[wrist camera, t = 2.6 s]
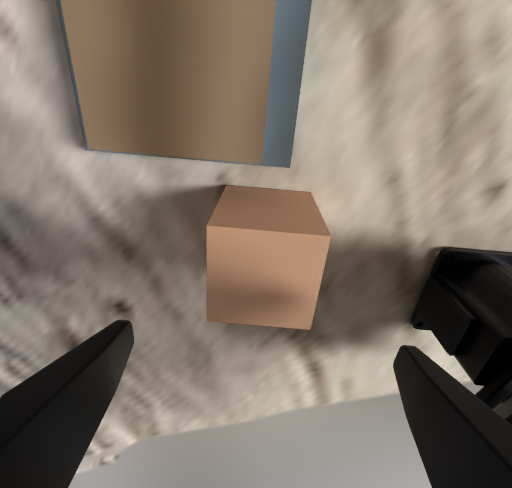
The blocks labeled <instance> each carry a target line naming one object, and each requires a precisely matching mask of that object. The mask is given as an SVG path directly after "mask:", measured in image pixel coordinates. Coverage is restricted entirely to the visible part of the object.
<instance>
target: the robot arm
mask: <svg viewBox="0 0 512 488" xmlns="http://www.w3.org/2000/svg"><path fill="white" fill-rule="evenodd" d="M450 254H451V255H450ZM448 255H450V257H448V258H446V257H447V256H448ZM410 322H411V324H412V326H413V327H414V328H415V329H420V330H431V331H432V332H433V334H434V335H435V337H436V338H437V339H438V341H439V342H440V344H441V345H442V346H443V348H444V349H445V351H446V352H447V353H448V354H449V355H451V356H455V358H456V359H457V360H458V362H459V363H460V365H461V366H462V367H463V369H464V370H465V372H466V373H467V374H468V376H469V377H470V378H471V380H472V381H473V383H474V384H475V385H481V386H484V387H482V388H481V389H480V390H479V391H478V392H477V393H476V394H475V395H474V394H473V393H472V392H470V391H469V390H468V389H467V388H466V387H464V386H463V385H462V384H461V383H459V382H458V381H457V380H456V379H455V378H453V377H452V376H451V375H450V374H448V373H447V372H446V371H445V370H444V369H442V368H441V367H440V366H439V365H438V364H436V363H435V362H434V361H433V360H431V359H430V358H429V357H428V356H427V355H425V354H424V353H423V352H422V351H420V350H419V349H418V348H417V347H415V346H408V345H402V346H401V347H400V349H399V351H398V353H397V356H396V358H395V360H394V364H393V367H394V372H395V376H396V380H397V384H398V388H399V392H400V396H401V399H402V403H403V407H404V411H405V414H406V418H407V420H408V423H409V426H410V429H411V432H412V434H413V437H414V440H415V442H416V445H417V448H418V451H419V454H420V456H421V459H422V462H423V464H424V467H425V470H426V473H427V475H428V478H429V481H430V483H431V486H432V488H512V253H504V252H493V251H481V250H469V249H458V248H445V249H443V250H442V251H441V252H440V253H439V255H438V257H437V260H436V262H435V264H434V267H433V269H432V271H431V274H430V276H429V278H428V280H427V281H426V284H425V286H424V288H423V291H422V293H421V295H420V298H419V300H418V302H417V305H416V308H415V311H414V313H413V315H412V318H411V321H410ZM418 322H419V323H418ZM133 344H134V335H133V329H132V324H131V322H130V321H128V320H117V321H115V322H113V323H112V324H110V325H109V326H107V327H106V328H104V329H103V330H101V331H100V332H98V333H97V334H95V335H93V336H92V337H90V338H89V339H87V340H86V341H84V342H83V343H81V344H80V345H78V346H77V347H75V348H74V349H72V350H71V351H69V352H67V353H66V354H64V355H63V356H61V357H60V358H58V359H57V360H55V361H54V362H52V363H51V364H49V365H48V366H46V367H45V368H43V369H42V370H40V371H38V372H37V373H35V374H34V375H32V376H31V377H29V378H28V379H26V380H25V381H23V382H22V383H20V384H19V385H17V386H16V387H14V388H12V389H11V390H9V391H8V392H6V393H5V394H3V395H2V396H1V398H0V488H68V486H69V485H70V483H71V481H72V479H73V477H74V475H75V473H76V471H77V469H78V467H79V465H80V463H81V461H82V459H83V457H84V455H85V453H86V451H87V449H88V447H89V445H90V443H91V441H92V439H93V437H94V435H95V433H96V431H97V429H98V427H99V425H100V423H101V421H102V419H103V417H104V414H105V412H106V410H107V408H108V406H109V404H110V402H111V400H112V398H113V396H114V394H115V392H116V390H117V387H118V385H119V382H120V380H121V377H122V374H123V372H124V369H125V366H126V363H127V361H128V358H129V355H130V353H131V350H132V347H133Z"/></svg>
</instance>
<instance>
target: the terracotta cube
mask: <svg viewBox="0 0 512 488" xmlns="http://www.w3.org/2000/svg"><path fill="white" fill-rule="evenodd" d="M330 239H331V235H330V233H329V231H328V228H327V226H326V224H325V222H324V220H323V218H322V215H321V213H320V211H319V209H318V207H317V205H316V203H315V200H314V198H313V196H312V194H311V192H299V191H288V190H276V189H265V188H253V187H242V186H230V185H226V187H225V189H224V191H223V193H222V195H221V197H220V199H219V201H218V203H217V205H216V207H215V209H214V211H213V213H212V215H211V217H210V220H209V222H208V224H207V321H214V322H225V323H237V324H249V325H260V326H272V327H284V328H295V329H307V330H311V325H312V321H313V316H314V312H315V307H316V303H317V298H318V294H319V289H320V285H321V280H322V276H323V271H324V267H325V262H326V257H327V253H328V248H329V244H330Z"/></svg>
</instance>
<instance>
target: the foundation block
mask: <svg viewBox="0 0 512 488" xmlns="http://www.w3.org/2000/svg"><path fill="white" fill-rule="evenodd" d="M311 3H312V0H57V5H58V10H59V15H60V20H61V26H62V31H63V36H64V41H65V46H66V51H67V57H68V62H69V67H70V72H71V77H72V83H73V88H74V93H75V98H76V103H77V109H78V114H79V119H80V124H81V129H82V135H83V140H84V145H85V150H89V151H101V152H113V153H124V154H136V155H147V156H159V157H170V158H182V159H193V160H205V161H216V162H228V163H240V164H251V165H263V166H274V167H286V168H290V163H291V156H292V148H293V140H294V133H295V125H296V117H297V110H298V102H299V95H300V87H301V79H302V72H303V64H304V56H305V49H306V41H307V33H308V26H309V18H310V10H311Z"/></svg>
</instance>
